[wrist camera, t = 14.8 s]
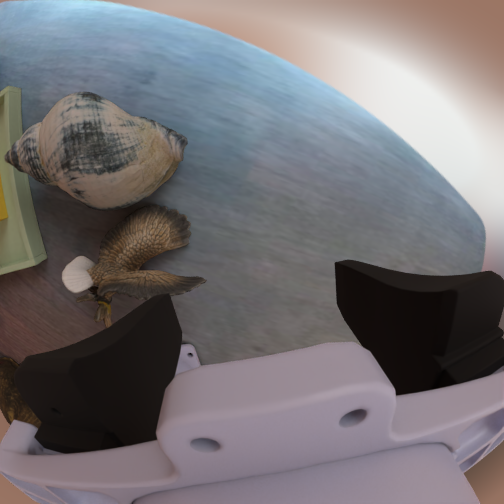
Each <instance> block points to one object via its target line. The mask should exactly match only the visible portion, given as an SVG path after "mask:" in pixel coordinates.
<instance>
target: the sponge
mask: <svg viewBox="0 0 504 504" xmlns="http://www.w3.org/2000/svg"><path fill="white" fill-rule="evenodd" d="M6 218H8V213H7V209H6V204H5V199H4V193H3V188H2V181H1V175H0V221H2V220H4V219H6Z"/></svg>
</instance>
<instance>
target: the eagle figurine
mask: <svg viewBox="0 0 504 504" xmlns="http://www.w3.org/2000/svg"><path fill="white" fill-rule="evenodd" d="M190 225H191V224H190V222H189V221H187V216H186V215H180V214H179V212H178V210H175V209H174V210H169V211H168V210H167V207H166V206H163V207H160V206H159V205H151V206H148V207H145V206H144V207H142V208H141V209H137V210H136V211H135V212H134V213H133V214H131V215H129V216H127V217H126V219H125V220H124V221H122V222H120V223H119V224H117V225H116V227H115V228H112V229H111V230H110V231H108V233H107V234H106V235H105V238H104V239H103V240H102V242H101V243H102V244H101V246H100V249H101V251H100V253H99V254H100V257H99V259H98V261H99V263H98V264H95V263H94V262H92V261H91V260H89V259H88V258H87V257H85V256H79V257H76V258H75V259H74V260H72V262H70V263H69V264H67V265H66V267H65V269H64V270H63V272H62V280H63V283H64V285H65V286H66V287H67V289H68V290H69V291H71V292H73V293H80V292H82V291H84V290H86V289H89V290H90V291H91V292H94V293H92V294H91V293H88V294H86V295H84V296H81V297H78V298H77V300H76V302H82V301H94V302H95V301H98V305H99V307H98V309H97V311H96V314H95V316H94V321H95V322H100V321H101V320H104V323H105V326H106V328H108V327H109V326H111V325H113V324H112V321H111V305H110V303H111V301H112V296H113V295H114V294H115V293H118V294H127V295H129V296H130V297H131V296H135V297H136V298H137V299H139V300H143V299H145V300H148V299H150V298H151V297H153V296H155V295H159V294H166V293H169V294H170V296H174V295H180V294H184V293H185V292H188V291H191V290H192V289H194V288H196V287H199V286H200V284H202V283H205V282H206V281H207V280H205V279H204V278H202V277H200V278H199V277H184V276H176V275H172V274H170V273H167V272H164V271H159V270H140V271H138V270H139V268H140V267H141V265H142V264H144V263H145V262H146V261H147V260H149V259H151V258H152V257H154V256H156V255H158V254H160V253H162V252H164V251H168V250H173V249H176V248H180V247H183V246H185V245H188V244H189V239H188V238H189V236H190V235H191V232H190V231H189V230H188V229H189V228H190ZM93 285H97V286H99V287H96V286H93Z"/></svg>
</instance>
